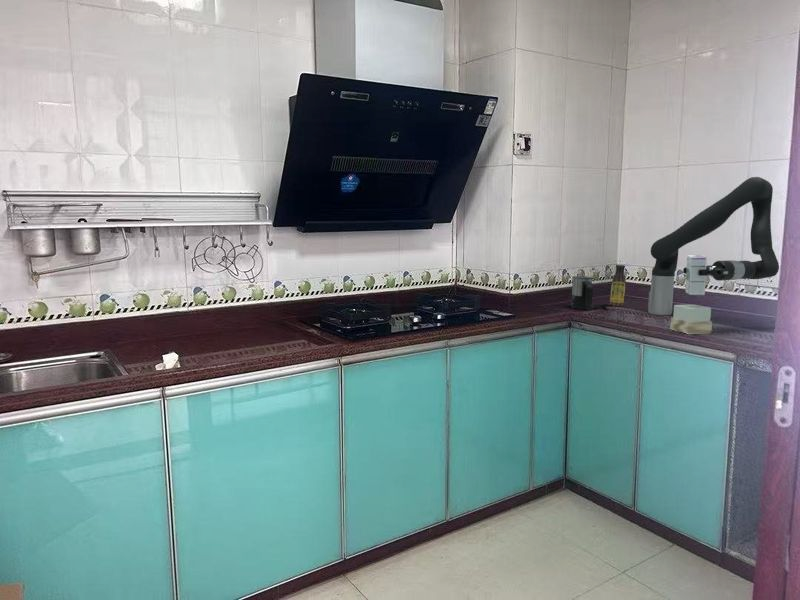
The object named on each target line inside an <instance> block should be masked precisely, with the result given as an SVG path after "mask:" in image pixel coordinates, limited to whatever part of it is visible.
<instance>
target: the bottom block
mask: <svg viewBox="0 0 800 600" xmlns="http://www.w3.org/2000/svg"><path fill="white" fill-rule="evenodd" d="M670 329H672V330H675V331H674V332H676V331H679V332H683V333H686V334H701V335H711V334H712V329H713V321H711V320H710V322H686V321H683V320H679V319H675V318H673V317H671V318H670V324H669V330H670ZM672 330H671V331H672ZM679 332H678V333H679ZM683 333H682V334H683ZM710 333H711V334H710ZM686 334H685V335H686Z"/></svg>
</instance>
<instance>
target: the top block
mask: <svg viewBox="0 0 800 600" xmlns="http://www.w3.org/2000/svg"><path fill="white" fill-rule="evenodd" d="M672 314H673V315H672V318H675V319H679V320H683V321H686V322H710V321H711V314H712V308H711V307H708V306H703V305H699V304H674V305H673V313H672Z"/></svg>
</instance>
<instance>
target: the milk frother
mask: <svg viewBox="0 0 800 600" xmlns="http://www.w3.org/2000/svg"><path fill="white" fill-rule="evenodd" d="M592 282H593V276H584V275H578V276H577V275H574V276H572V286H571V290H572V292H571V305H570V308H571V307H572V308H571V309H574V308H577V309H576V310H591V309H592V308H601V309H602V308H603V309H606V308H607V307H609V306H611V305H610V302H602V303H597V304H594V305H592V304H593V294H594V285H593V283H592ZM590 308H591V309H590Z"/></svg>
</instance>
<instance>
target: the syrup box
mask: <svg viewBox="0 0 800 600" xmlns="http://www.w3.org/2000/svg"><path fill="white" fill-rule="evenodd" d="M706 266H707V256H706V255H702V254H701V255H699V254H691V255H690V254H688V255H687V256H686V267H685V268H686V274H685V286H684V287H685V291H684V293H686V294H687V295H691V296H705V294H706V279H707V276H699V275H698V271H699V270H703V269H706Z"/></svg>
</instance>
